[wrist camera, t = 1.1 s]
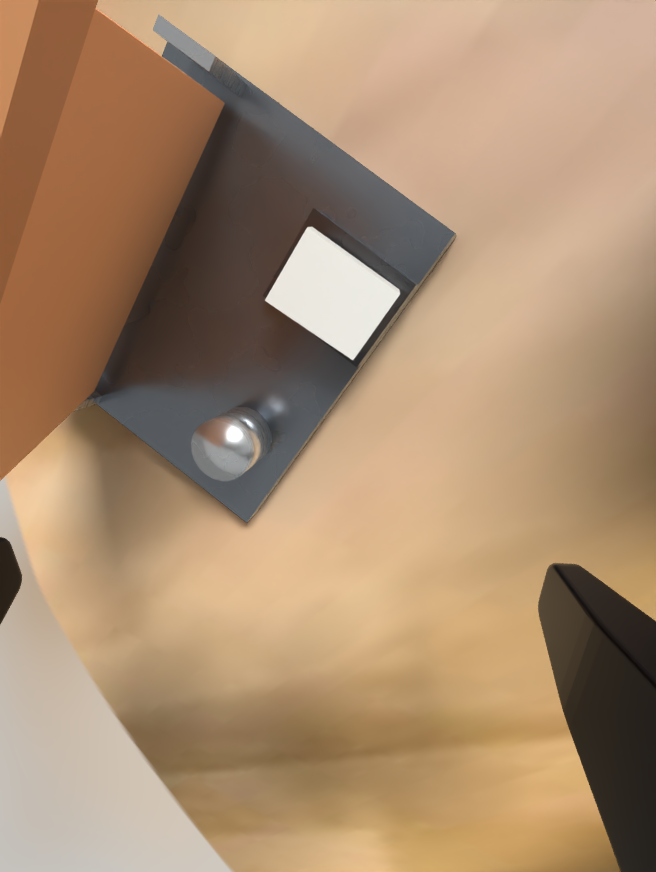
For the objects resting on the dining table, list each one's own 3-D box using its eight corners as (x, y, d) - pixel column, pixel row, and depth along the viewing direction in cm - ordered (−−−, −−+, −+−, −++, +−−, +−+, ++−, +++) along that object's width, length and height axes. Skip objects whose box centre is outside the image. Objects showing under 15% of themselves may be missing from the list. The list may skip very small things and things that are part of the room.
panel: (456, 236, 15) (453, 225, 13) (256, 512, 21) (223, 546, 18) (190, 40, 16) (131, -11, 13) (62, 358, 21) (0, 369, 18)
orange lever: (232, 104, 15) (48, -39, 5) (98, 395, 19) (-135, 625, 9) (178, 63, 14) (-147, -186, 4) (53, 372, 19) (-241, 590, 9)
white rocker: (399, 289, 15) (400, 294, 14) (354, 352, 16) (353, 360, 15) (311, 226, 14) (307, 227, 13) (271, 295, 15) (264, 300, 14)
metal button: (282, 430, 18) (260, 447, 16) (253, 472, 19) (229, 493, 17) (236, 394, 18) (209, 407, 16) (209, 438, 19) (180, 454, 17)
